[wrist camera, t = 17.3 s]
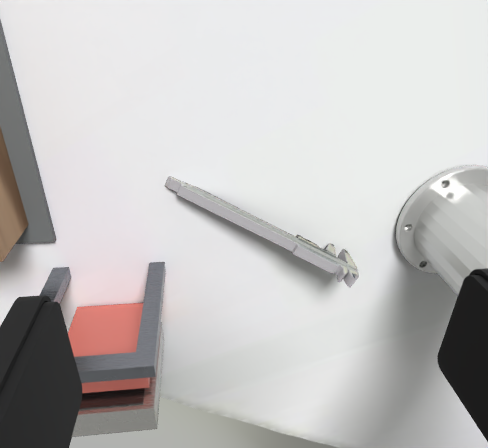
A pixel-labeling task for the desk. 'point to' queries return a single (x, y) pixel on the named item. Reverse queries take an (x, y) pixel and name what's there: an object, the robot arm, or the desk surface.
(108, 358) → the frame
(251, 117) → the desk surface
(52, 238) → the rest mat
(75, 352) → the button
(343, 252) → the caliper
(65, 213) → the desk surface
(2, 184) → the brown wooden block
